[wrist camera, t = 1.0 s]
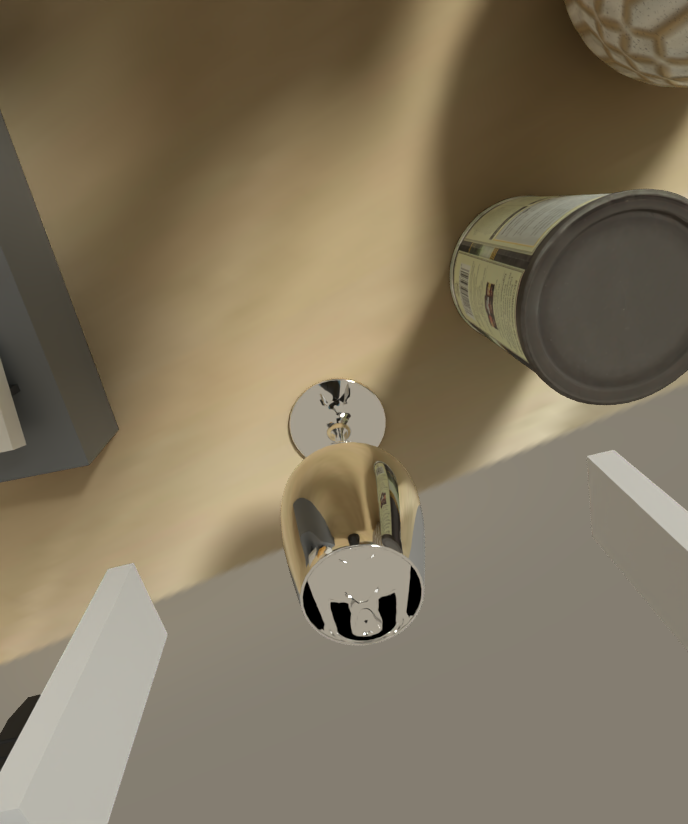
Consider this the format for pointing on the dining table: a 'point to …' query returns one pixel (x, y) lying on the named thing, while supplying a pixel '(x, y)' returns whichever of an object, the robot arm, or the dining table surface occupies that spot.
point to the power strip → (43, 343)
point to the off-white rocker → (8, 418)
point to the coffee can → (582, 289)
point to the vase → (636, 37)
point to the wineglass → (351, 519)
